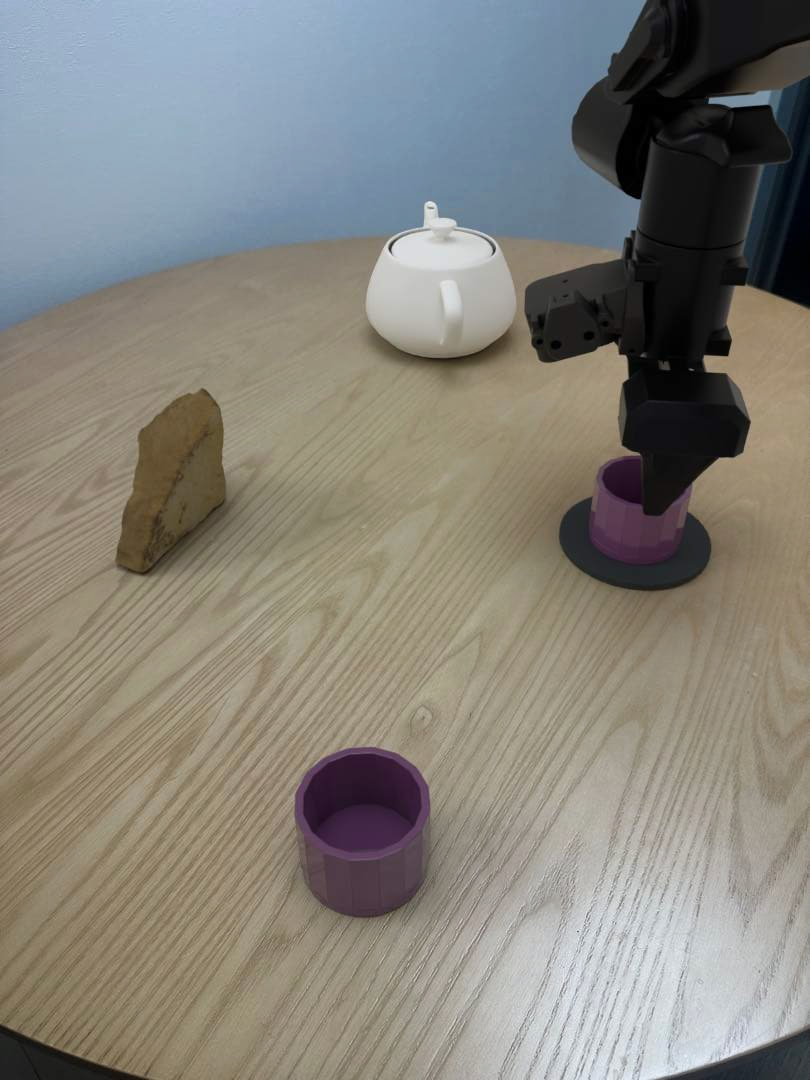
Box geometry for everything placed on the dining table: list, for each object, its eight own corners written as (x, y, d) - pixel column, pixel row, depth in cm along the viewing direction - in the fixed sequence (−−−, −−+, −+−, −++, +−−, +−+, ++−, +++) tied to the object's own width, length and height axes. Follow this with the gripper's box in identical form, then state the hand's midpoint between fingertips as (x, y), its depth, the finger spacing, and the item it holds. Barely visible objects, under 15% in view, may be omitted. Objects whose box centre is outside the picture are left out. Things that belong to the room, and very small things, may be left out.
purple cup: (695, 533, 63) (709, 478, 61) (650, 577, 60) (662, 521, 57) (618, 499, 66) (627, 445, 64) (570, 538, 63) (578, 483, 60)
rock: (141, 578, 57) (276, 498, 61) (65, 454, 55) (208, 380, 60) (111, 582, 67) (229, 512, 71) (45, 476, 65) (170, 411, 69)
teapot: (532, 387, 80) (543, 264, 73) (371, 393, 79) (367, 270, 73) (494, 281, 97) (500, 175, 90) (362, 286, 96) (358, 179, 90)
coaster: (736, 537, 64) (738, 531, 64) (662, 612, 58) (663, 606, 58) (609, 481, 69) (610, 475, 69) (529, 545, 63) (530, 539, 63)
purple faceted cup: (454, 853, 45) (457, 795, 42) (368, 943, 41) (365, 887, 39) (363, 784, 48) (360, 726, 45) (275, 863, 44) (266, 805, 42)
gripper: (539, 169, 58) (521, 391, 68) (538, 295, 44) (515, 554, 54) (723, 176, 57) (678, 400, 67) (785, 307, 43) (715, 568, 53)
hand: (645, 471), depth 60 cm, fingers open, 9 cm apart
